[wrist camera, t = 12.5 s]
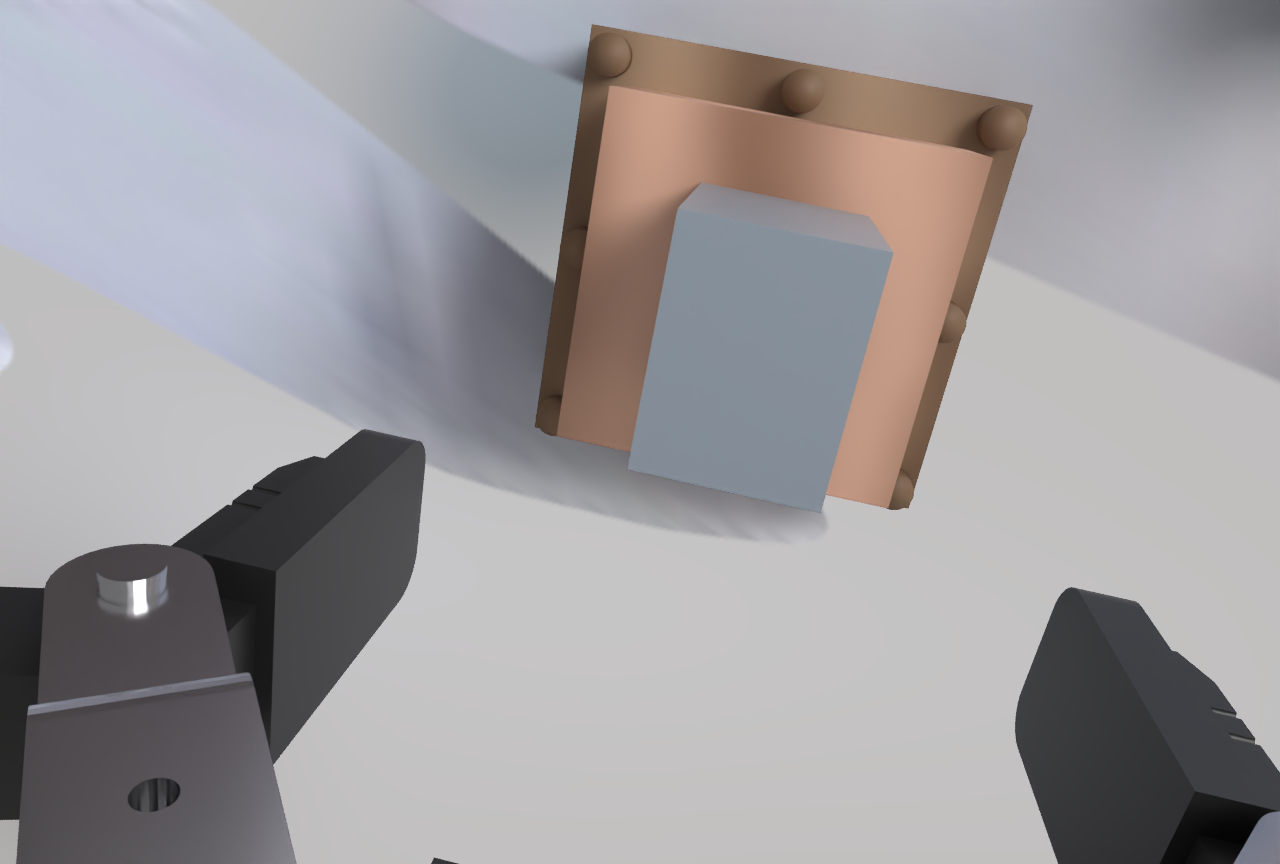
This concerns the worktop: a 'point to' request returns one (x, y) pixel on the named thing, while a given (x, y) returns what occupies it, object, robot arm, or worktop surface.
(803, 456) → the grey brick
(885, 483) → the brown studded stepped block
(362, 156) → the worktop surface
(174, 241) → the worktop surface
